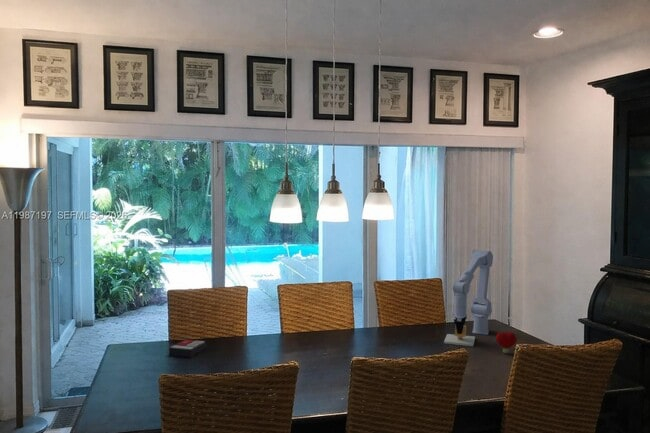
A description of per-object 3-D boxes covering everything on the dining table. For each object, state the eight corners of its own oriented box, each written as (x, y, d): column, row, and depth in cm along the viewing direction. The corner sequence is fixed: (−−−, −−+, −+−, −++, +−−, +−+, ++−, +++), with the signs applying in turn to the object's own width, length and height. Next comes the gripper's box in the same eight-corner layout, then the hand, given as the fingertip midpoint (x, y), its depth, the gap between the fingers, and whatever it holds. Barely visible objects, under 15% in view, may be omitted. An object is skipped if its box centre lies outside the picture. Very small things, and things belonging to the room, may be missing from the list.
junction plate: (447, 335, 277) (447, 327, 277) (475, 338, 273) (475, 330, 272) (444, 343, 264) (444, 335, 264) (473, 346, 259) (473, 337, 259)
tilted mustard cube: (455, 333, 271) (456, 323, 271) (465, 334, 270) (466, 324, 269) (454, 336, 266) (455, 326, 266) (465, 337, 265) (465, 327, 264)
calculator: (206, 340, 254) (191, 348, 239) (206, 349, 254) (190, 357, 239) (185, 338, 256) (168, 346, 242) (185, 347, 256) (168, 355, 242)
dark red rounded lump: (514, 351, 252) (514, 330, 251) (518, 356, 245) (518, 334, 244) (493, 350, 253) (494, 330, 252) (497, 355, 246) (497, 334, 245)
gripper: (453, 301, 275) (453, 327, 276) (451, 308, 262) (450, 335, 262) (468, 303, 273) (467, 329, 274) (465, 309, 259) (465, 336, 260)
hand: (460, 332), depth 268 cm, fingers closed on tilted mustard cube, 5 cm apart
